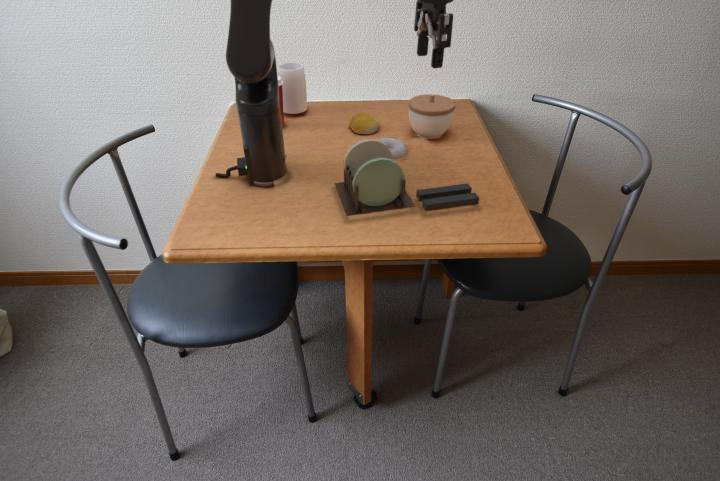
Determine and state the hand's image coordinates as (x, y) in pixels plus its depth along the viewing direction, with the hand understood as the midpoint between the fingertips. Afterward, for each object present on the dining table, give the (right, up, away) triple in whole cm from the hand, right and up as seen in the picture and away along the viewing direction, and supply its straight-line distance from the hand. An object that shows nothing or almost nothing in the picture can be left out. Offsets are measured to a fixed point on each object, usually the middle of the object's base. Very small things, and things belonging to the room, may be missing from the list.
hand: (429, 61), depth 99 cm
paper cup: (-39, -4, +40) cm, 56 cm away
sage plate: (-10, -30, +2) cm, 32 cm away
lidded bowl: (+5, -8, +35) cm, 36 cm away
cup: (-35, +2, +48) cm, 59 cm away
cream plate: (-12, -25, +9) cm, 29 cm away
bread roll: (-13, -5, +38) cm, 40 cm away
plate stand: (+5, -30, +5) cm, 30 cm away
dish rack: (-11, -28, +7) cm, 31 cm away
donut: (-7, -16, +24) cm, 30 cm away
